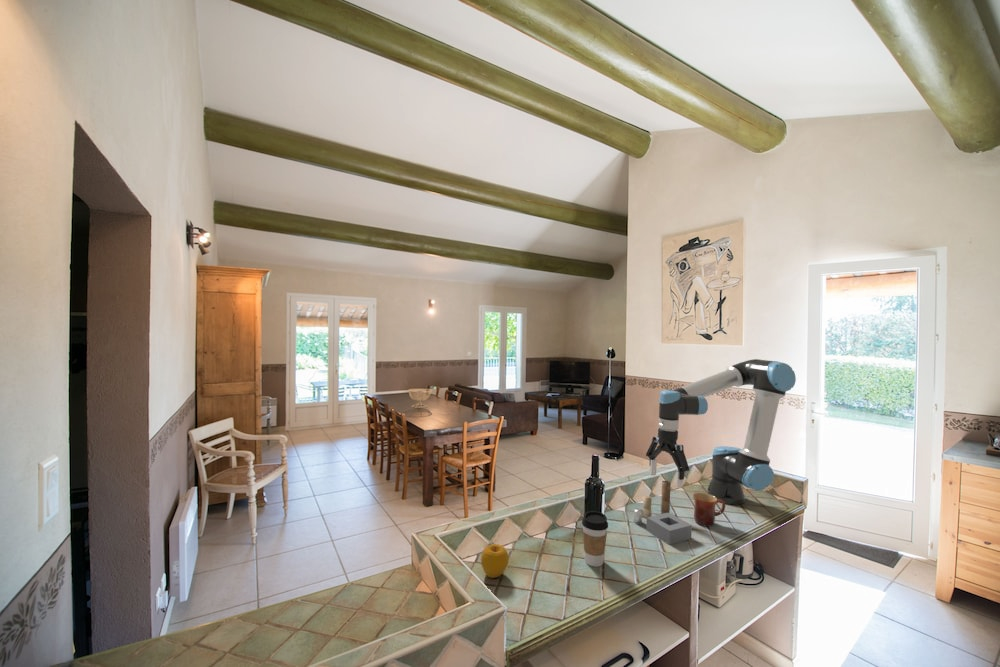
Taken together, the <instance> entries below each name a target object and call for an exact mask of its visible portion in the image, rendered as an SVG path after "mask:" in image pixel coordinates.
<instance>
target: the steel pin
mask: <svg viewBox="0 0 1000 667" xmlns="http://www.w3.org/2000/svg"><path fill="white" fill-rule="evenodd" d="M633 523H634V525H638V526H639V525H643V508H642V509H641V508H638V507H636V508H634V509H633Z"/></svg>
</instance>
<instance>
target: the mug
mask: <svg viewBox="0 0 1000 667" xmlns="http://www.w3.org/2000/svg"><path fill="white" fill-rule="evenodd" d="M692 498H693V502H694V509H693V519H694V522H695V523H697V524H698V525H700V526H704V527H711V526H713V525H714V524H715V521H716V517H719V516H721V515H722V514H723V513H724V512H725V510H726V503H725V502H724V501H723V500H720V499H717V498H716V497H714V496H712V495H709V494H707V492H705V493H704V492H695V493H693V494H692ZM718 503H721V508H720V510H719V511H716V505H717V504H718Z"/></svg>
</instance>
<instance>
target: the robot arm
mask: <svg viewBox="0 0 1000 667" xmlns="http://www.w3.org/2000/svg"><path fill="white" fill-rule="evenodd" d="M796 378H797V377H796V374H795V371H794V370H793V367H791V366H790V364H788V363H786V362H785V363H784V362H781V361H777V360H767V359H758V358H755V359H748V360H744V361H741V362H738V363H736V364H733V365H730V366H729V367H727V368H726V369H725V370H724V371H721V372H718V373H716V374H713V375H710V376H708V377H705V378H702V379H700V380H696V381H694V382H692V383H689V384H686V385H684V386H681V387H678V388H675V389H664V390H662V391H660V393H659V394H660V395H659V400H658V402H659V406H658V425H657V426H658V430H657V436H653V437H652V440H651V442H650V445H649V448H648V449H647V451H646V452H645V453H646V454H645V456H646V457H648V458H649V464H648V465H649V467H650V468H649V476H656V475H657V466H658V465H657V463H658V462H657V461H658V459H657V457H658V456H659V455H660V454H661V453H662V452H665V453H667V454H669V456H670V457H671V458H672V460H673V462H674V463H675V466H676V468H677V470H676V475H675V476H676V478H675V479H676V480H675V488H678V489H679V488H683V484H684V482H683V481H684V479H685V472H689V471H690V467H689V463H688V460H687V458H686V454H685V451H684V450H685V449H684V445H683V444H677V442H678V441H677V440H678V439H679V431H678V430H679V420H680V419H679V417H680V415H687V416H690V415H691V416H693V415H694V416H699V415H701V416H702V415H705V414H706V413H707V411H708V408H709V404H708V400H707V399H706V397H709V396H711V395H714V394H716V393H719V392H722V391H724V390H728V389H730V388H732V387H736V388H737V387H738V388H740V387H742V386H747V385H748V386H749V385H750V386H752V390H753V391H754V393H755V396H754V401H753V405H752V410H751V414H750V419H749V422H748V426H747V432H746V435H745V441H744V445H743V448H739V447H736V446H725V445H724V446H721V445H720V446H715V447H714V448H713V449H712V454H711V455H712V461H711V462H712V463H711V466H712V470H711V472H712V473H711V480H710V483H709V485H708V487H707V489H706V491H707V492H706V494H709V495H712V496H714V497H716V498H717V499H720V500H723V501H724V502H725V505H726V504H727V505H736V506H737V505H742V504H744V503H745V502H746V495H745V493H744V489H743V487H745V488H747V489H751V490H753V491H763V490H766V488H768V487H770V486H771V484H772V483H773V481H774V478H775V473H774V471H773V469H772V467H771V466H770V463H771V459H770V458H769V456H768V452H769V447H770V443H771V439H772V434H773V430H774V426H775V425H774V424H775V421H776V416H777V413H778V412H777V411H778V409H779V408H778V407H779V403H780V399H782V398H784V397H785V396H786V393H787V392H788V391H791V390H792V388H794V386H795V384H796V381H797V379H796Z"/></svg>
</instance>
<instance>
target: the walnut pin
mask: <svg viewBox="0 0 1000 667" xmlns="http://www.w3.org/2000/svg"><path fill="white" fill-rule="evenodd" d="M660 502H661V503H660V505H661V506H660V507H661V509H660V514H663V513H670V510H671V508H670V507H671V482H670V481H668V480H662V481H661V501H660ZM670 514H671V513H670Z"/></svg>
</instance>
